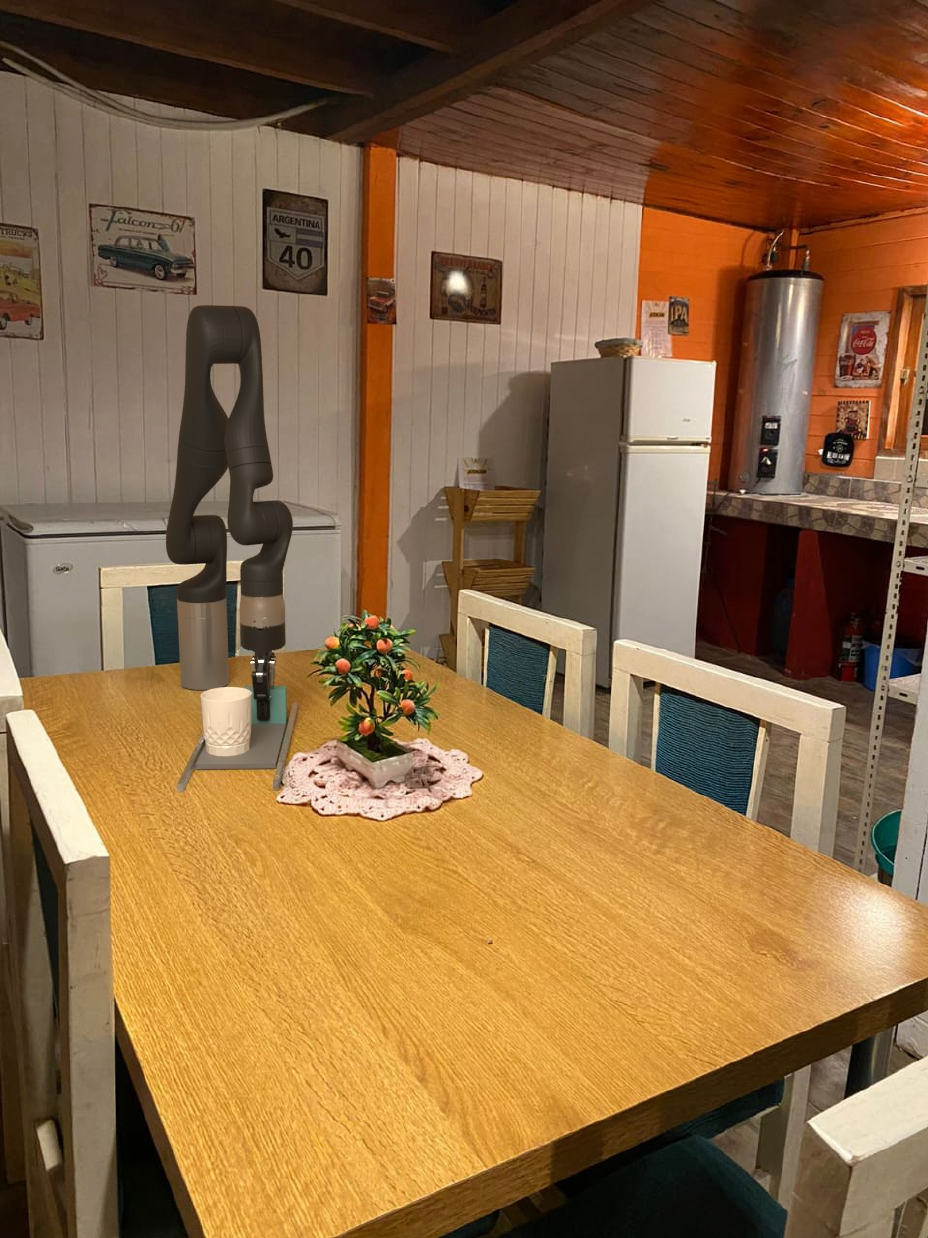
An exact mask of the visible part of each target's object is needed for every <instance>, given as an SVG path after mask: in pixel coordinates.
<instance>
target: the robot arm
mask: <svg viewBox="0 0 928 1238" xmlns="http://www.w3.org/2000/svg"><path fill="white" fill-rule="evenodd" d="M185 334H186V336H185V364H184V367H185V368H184V369H185V370H184V371H185V372H184V374H185V375H184V391H183V402H182V403H183V404H182V411H181V419H180V425H179V431H178V432H179V433H178V440H177V441H178V442H177V450H176V451H177V453H176V454H177V455H176V470H175V482H174V489H173V494H172V498H171V505H170V510H169V515H168V519H167V525H166V530H165V531H166V534H165V549H166V554H167V557H168V559H169V560H170V561H171V562H172V563H173V564H175V565H181V566H182V565H183V566H185V565H187V566H188V565H203V564H204V567H203V569H202V570H200V572H198V573H197V574H196V575H193V576H192V577H190V578H188V579H185V580H183V581H181V582H180V583H179V584H177V586H176V604H177V607H176V608H177V623H178V625H177V626H178V647H179V648H178V651H179V671H180V673H179V675H180V686H181V687H183V688H184V689H189V690H196V691H203V690H204V691H207V690H210V689H214V688H221V687H225V686H227V685H228V684H229V683H230V676H229V675H230V671H229V670H230V669H229V640H228V638H229V637H228V636H229V635H228V611H227V610H228V608H227V586H228V585H227V584H228V582H227V580H228V579H227V578H228V577H227V576H228V575H227V572H228V571H227V568H228V566H227V564H228V563H227V562H228V560H227V559H228V558H227V557H228V535H227V533H228V532H229V534H230V536H231V538H232V539H233V540H234V542H236V543H237V544H239V545H241V546H256V545H262V546H261V548H260V551H258V553H257V554H256V555H254V556H251V557H248V558H247V559H245V560H243V561H242V562H241V564H240V568H239V569H240V570H239V572H240V574H239V578H240V601H239V632H240V633H239V634H240V635H239V637H240V641H239V642H240V647H242V649H244V650H246V651H252V652H254V655H252V657H251V659H250V670H251V674H250V675H251V676H250V677H251V681H252V683H251V684H252V685H251V686H253V693H254V695H253V698H254V700H257V720H259V721H268V720H270V698H271V695H270V687H271V686H275V679H276V665H277V655H276V654H275V652H273V651H279V650H280V649H282V648H284V647H285V646H286V642H287V641H286V639H287V638H286V603H285V599H284V567H285V563H286V559H287V555H288V550H289V547H290V542H291V538H292V534H293V529H294V521H293V516H292V515H293V514H292V513H291V511H290V509H289V506H287V504H285V503H284V502H283V501H280V500H265V501H264V500H263V501H262V500H259V501H254V494H255V490H257V489H260V488H264V487H267V486H268V485H270V484H271V483H272V482H273V480H274V470H273V464H272V459H271V454H270V448H269V442H268V437H267V430H266V422H265V421H266V420H265V406H264V404H265V403H264V402H265V400H264V377H263V375H264V374H263V355H262V353H263V352H262V340H261V330H260V327H259V323H258V319H257V318H256V315H255V314H254V312H253V311H252V309H250V308H249V307H247V306H242V305H219V304H218V305H212V304H211V305H210V304H208V305H206V304H205V305H204V304H203V305H196V306H194V307H193V308H192V309H191V310H190V312H189V315H188V319H187V323H186V333H185ZM214 364H215V365H225V364H227V365H230V364H231V365H232V364H237V365H238V368H239V374H240V375H239V376H240V381H239V382H240V383H239V390H238V394H237V397H236V400H235V403H234V405H233V407H232V410H231V412H230V415H229V417H228V415H227V413H226V411H225V409H224V408H223V406H222V404H221V403H220V402H219V400H218V397H217V396H216V393H215V392H214V389H213V385H212V380H211V373H212V372H211V371H212V367H213V365H214ZM227 470H228V474H229V479H230V480H229V481H230V482H229V495H228V496H229V498H228V500H229V501H228V508H227V520H226V521H227V525H226V524H225V521H224V519H223V518H222V517H221V516H220V515H216V514H202V515H195V513H196V510H197V507H199V504H200V502H202V500H204V498H205V497H206V496H207V494H208V493H209V492H211V490H212V489H213V488H214V487H215V486H216V485H217V483H219V481H220V480H221V479H222V478H223V476H225V473H226V472H227ZM226 526H227V527H226ZM227 529H228V532H227ZM259 690H265V692H259Z"/></svg>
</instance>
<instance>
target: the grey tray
mask: <svg viewBox="0 0 928 1238" xmlns="http://www.w3.org/2000/svg"><path fill="white" fill-rule="evenodd" d="M244 688H245V689H248V690H250V691H251V692H252V715H251V737H250V748H249V750H248V751H246V752H245V753H242V754H239V755H234V756H216V755H212V754H209V753H208V752H207V751H206V744H205V746H204V748H203V750H202V753H201V755H200V757H199V759H198V761H197V763H196V766H195V770H233V769H234V770H235V769H236V770H237V769H238V770H240V769H242V770H245V769H246V770H248V769H249V770H250V769H253V770H254V769H255V770H256V769H277V765H278V761H279V757H280V753H281V749H282V745H283V741H284V737H285V733H286V729H287V725H288V721H289V717H288V696H287V695H288V693H287V692H288V690H287V689H288V688H287V685H274V686H271V687H270V695H271V698H270V720H268V721H259V720H257V700H254V698H253V695H254V693H253V685H245V687H244ZM259 692H265V690H259Z"/></svg>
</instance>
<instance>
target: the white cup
mask: <svg viewBox="0 0 928 1238" xmlns="http://www.w3.org/2000/svg"><path fill="white" fill-rule="evenodd" d="M199 696H200V705H201V706H200V707H201V719H202V728H203V731H204V737H205V741H206V751H207V752H208V753H209V754H212V755H216V756H234V755H239V754H242V753H245V752H246V751H248V750H249V748H250V737H251V715H252V692H251V691H250V690H248V689H245V687H238V686H226V687H225V686H223V687H220V688H214V689H208V690H204V691H203V692H202V693H200V695H199Z"/></svg>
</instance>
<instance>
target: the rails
mask: <svg viewBox="0 0 928 1238" xmlns="http://www.w3.org/2000/svg"><path fill="white" fill-rule="evenodd" d="M298 705H299V704H298V701H297V702H292V706H291V709H290V713H289V717H288V722H287V726H286V730H285V734H284V738H283V742H282V746H281V750H280V754H279V758H278V762H277V766H276V768H275V774H274V777H273V782H272V786H273V787H272V791H279V790H280V787H281V783H282V779H281V778H283V774H282V772H283V773H284V770H285V765H286V761H287V757H288V752H289V748H290V743H291V739H292V736H293V730H294V727H295V722H296V718H297V713H298ZM205 744H206V741H205V737H204V730H203V731H202V733H201V735H200V737H199V739H198V741H197V744H195V747H194V749H193V751H192V753H191V754H190V757H189V759H188V761H187V764H186V765H185V767H184V770H183V771H182V773H181V776H180V778H179V779H178V781H177V784H176V786H177V788H176V789H177V793H183V792H185V790H186V786H187V784H188V782H189V781H190V778H191V776H192V773H193V772H194V769H196V763H197V761H198V759H199V757H200V755H201V753H202V750H203V748H204V746H205ZM283 769H284V770H283Z"/></svg>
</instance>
